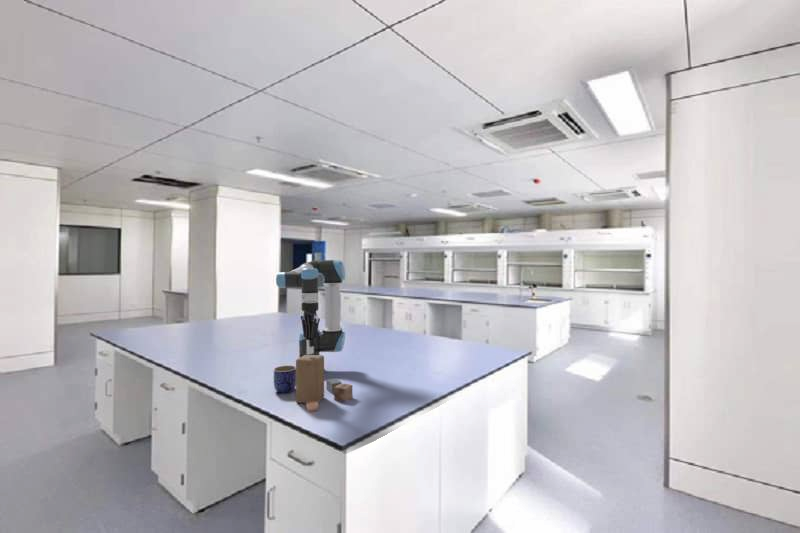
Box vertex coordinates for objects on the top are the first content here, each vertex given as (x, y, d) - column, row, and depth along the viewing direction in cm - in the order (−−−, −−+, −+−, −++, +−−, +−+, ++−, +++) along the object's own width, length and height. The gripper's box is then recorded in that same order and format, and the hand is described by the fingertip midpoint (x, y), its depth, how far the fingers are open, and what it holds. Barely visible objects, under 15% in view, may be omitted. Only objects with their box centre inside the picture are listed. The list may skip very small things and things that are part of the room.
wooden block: (316, 405, 165) (315, 360, 165) (295, 403, 167) (295, 359, 167) (324, 397, 175) (324, 354, 174) (305, 395, 177) (305, 353, 176)
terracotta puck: (304, 409, 160) (304, 402, 160) (314, 406, 164) (314, 399, 164) (310, 413, 157) (310, 406, 157) (320, 409, 160) (320, 402, 160)
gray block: (326, 390, 185) (326, 380, 185) (335, 388, 188) (335, 378, 188) (331, 394, 179) (331, 383, 179) (341, 392, 182) (341, 382, 182)
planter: (295, 394, 179) (295, 371, 179) (271, 395, 177) (271, 372, 177) (297, 386, 190) (297, 364, 190) (275, 387, 188) (275, 365, 188)
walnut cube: (334, 400, 171) (334, 387, 171) (341, 395, 177) (341, 383, 177) (345, 402, 169) (345, 389, 169) (352, 397, 174) (352, 385, 174)
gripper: (295, 301, 172) (295, 352, 172) (310, 303, 163) (310, 357, 163) (309, 300, 178) (309, 349, 178) (324, 302, 168) (325, 354, 168)
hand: (310, 353), depth 170 cm, fingers closed
